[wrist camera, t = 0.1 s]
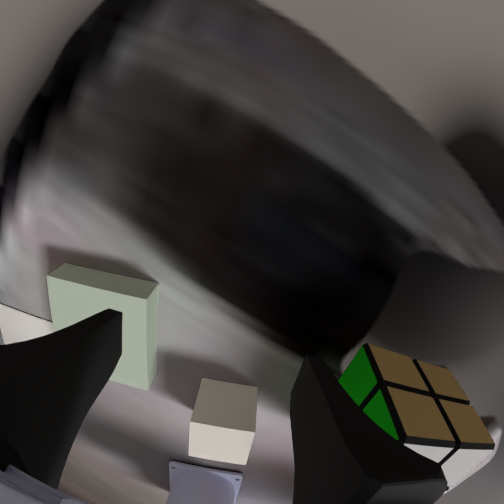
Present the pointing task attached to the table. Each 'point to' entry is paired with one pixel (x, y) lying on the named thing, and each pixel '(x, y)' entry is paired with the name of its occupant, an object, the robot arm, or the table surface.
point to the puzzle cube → (419, 408)
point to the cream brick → (223, 421)
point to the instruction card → (21, 325)
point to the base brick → (117, 298)
